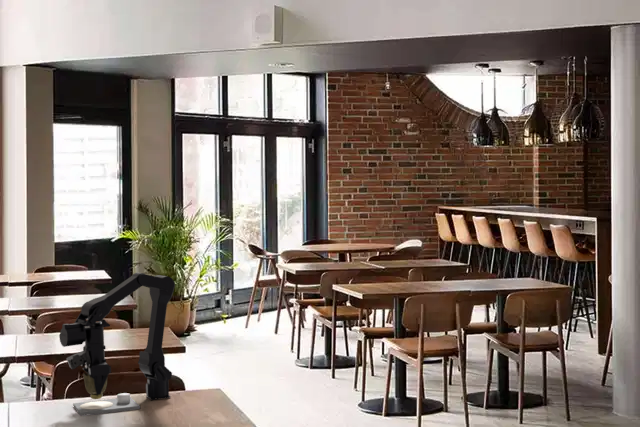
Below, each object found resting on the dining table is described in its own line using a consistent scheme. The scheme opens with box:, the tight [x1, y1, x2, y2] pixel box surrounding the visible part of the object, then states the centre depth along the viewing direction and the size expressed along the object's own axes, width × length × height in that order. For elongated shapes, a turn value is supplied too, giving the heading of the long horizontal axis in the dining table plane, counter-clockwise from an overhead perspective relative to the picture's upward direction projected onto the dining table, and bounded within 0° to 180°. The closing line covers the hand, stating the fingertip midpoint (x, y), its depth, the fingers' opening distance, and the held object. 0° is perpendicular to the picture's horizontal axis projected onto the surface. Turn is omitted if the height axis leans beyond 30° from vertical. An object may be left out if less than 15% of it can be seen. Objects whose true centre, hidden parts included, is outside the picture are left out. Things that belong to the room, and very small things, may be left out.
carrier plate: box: [72, 392, 141, 417], centre depth 300 cm, size 18×14×4 cm
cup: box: [83, 372, 109, 400], centre depth 298 cm, size 8×7×8 cm
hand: (96, 392), depth 298 cm, fingers closed on cup, 6 cm apart
